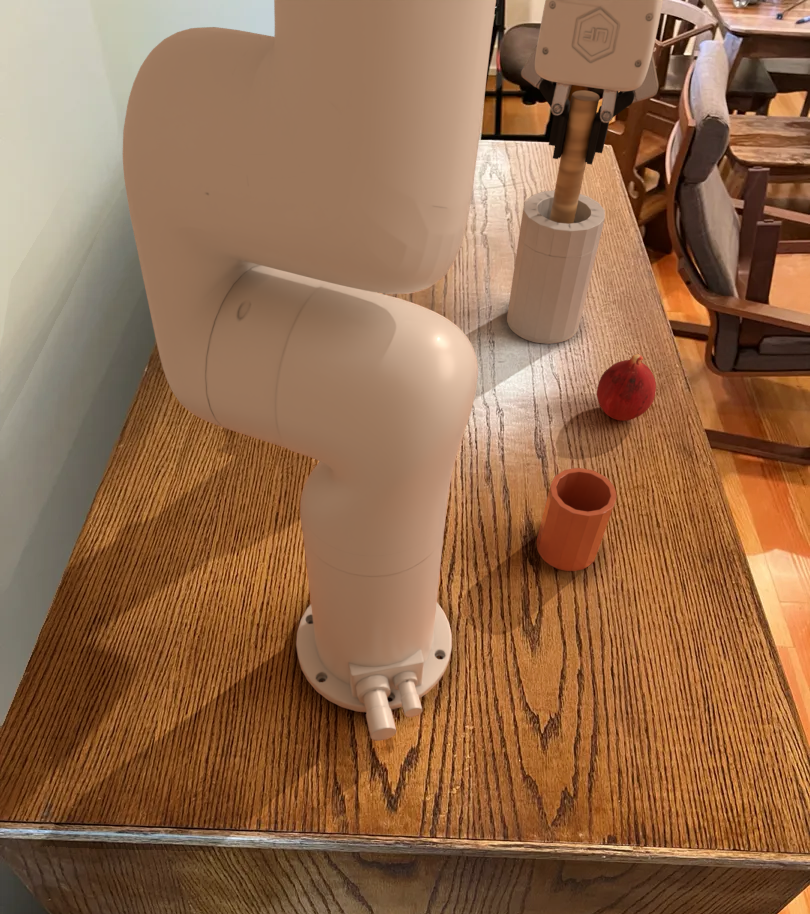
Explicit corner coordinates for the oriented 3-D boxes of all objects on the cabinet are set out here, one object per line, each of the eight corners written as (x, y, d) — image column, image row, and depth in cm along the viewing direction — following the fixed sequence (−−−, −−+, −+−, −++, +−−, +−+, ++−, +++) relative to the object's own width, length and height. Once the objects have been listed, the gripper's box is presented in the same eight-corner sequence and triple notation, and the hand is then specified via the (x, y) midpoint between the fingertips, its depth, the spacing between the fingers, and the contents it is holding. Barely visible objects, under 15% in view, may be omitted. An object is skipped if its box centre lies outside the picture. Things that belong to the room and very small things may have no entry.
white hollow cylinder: (589, 339, 90) (617, 226, 80) (520, 347, 89) (539, 234, 78) (563, 298, 96) (586, 187, 85) (497, 305, 94) (513, 193, 84)
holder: (605, 569, 69) (627, 509, 62) (546, 579, 68) (563, 520, 62) (582, 524, 72) (601, 463, 66) (527, 533, 71) (541, 473, 65)
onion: (640, 442, 79) (663, 381, 73) (585, 429, 80) (603, 367, 74) (648, 407, 83) (669, 346, 77) (595, 395, 84) (612, 333, 78)
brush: (573, 275, 86) (610, 102, 72) (542, 278, 85) (574, 104, 71) (561, 258, 88) (596, 87, 74) (532, 261, 88) (561, 89, 74)
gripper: (513, -74, 62) (487, 159, 76) (718, -51, 59) (652, 185, 73) (530, -94, 67) (503, 129, 81) (721, -74, 64) (658, 153, 78)
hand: (574, 154), depth 77 cm, fingers closed on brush, 2 cm apart
